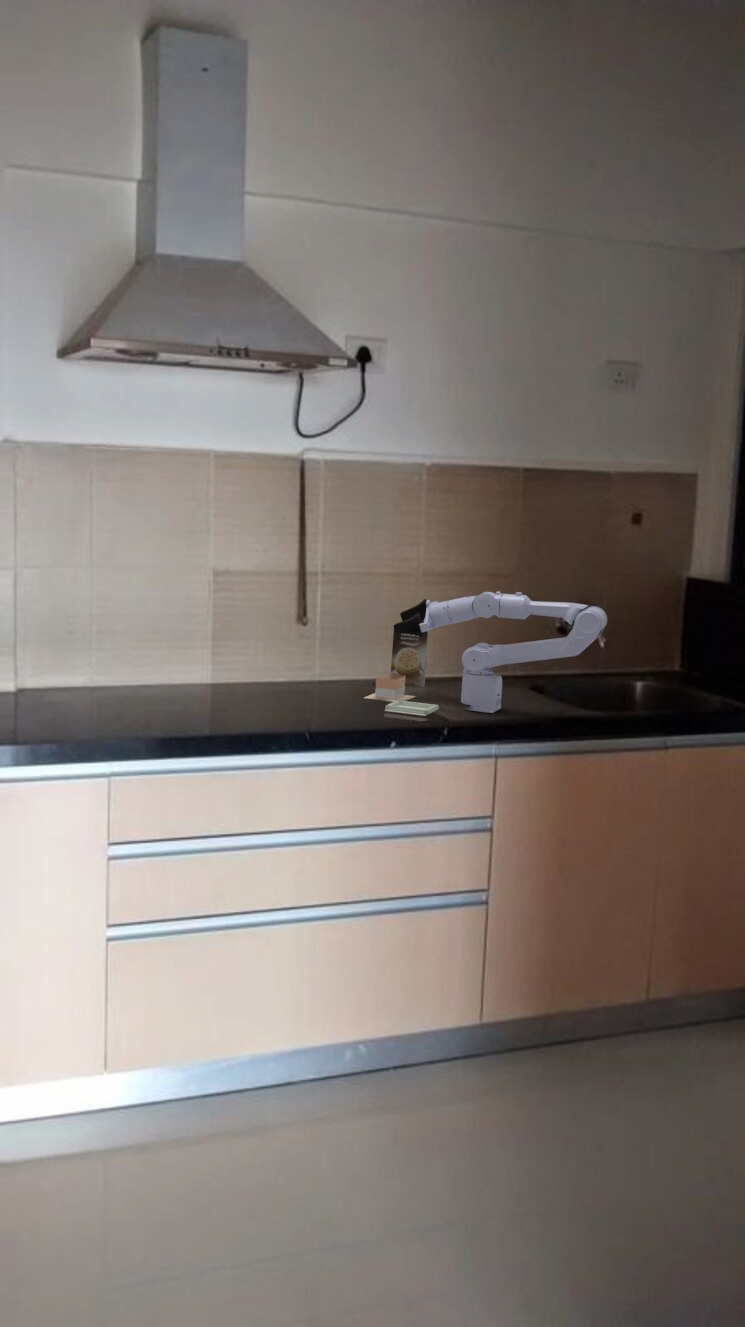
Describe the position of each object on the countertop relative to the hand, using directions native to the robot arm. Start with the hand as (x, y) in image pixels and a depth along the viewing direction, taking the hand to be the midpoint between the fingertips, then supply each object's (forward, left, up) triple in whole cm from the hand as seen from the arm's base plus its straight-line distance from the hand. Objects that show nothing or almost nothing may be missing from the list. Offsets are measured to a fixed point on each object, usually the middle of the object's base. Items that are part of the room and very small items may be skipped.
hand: (398, 623), depth 324 cm
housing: (-1, +5, -18) cm, 18 cm away
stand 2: (-11, +17, -19) cm, 28 cm away
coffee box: (+3, -19, -19) cm, 28 cm away
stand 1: (-1, +5, -19) cm, 20 cm away
